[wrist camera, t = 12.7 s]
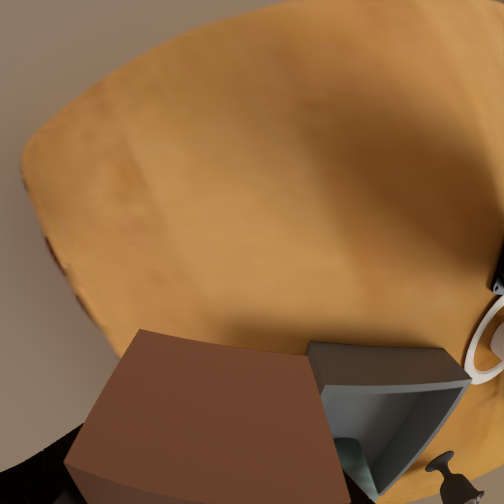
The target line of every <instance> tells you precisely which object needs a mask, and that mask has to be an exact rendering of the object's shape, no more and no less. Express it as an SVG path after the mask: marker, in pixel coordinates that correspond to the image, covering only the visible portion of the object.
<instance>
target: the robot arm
mask: <svg viewBox="0 0 504 504" xmlns="http://www.w3.org/2000/svg"><path fill="white" fill-rule="evenodd" d="M491 291H492V292H493V293H495V294H500V295H504V245H503V249H502V253H501V256H500V260H499V263H498V267H497V270H496V273H495V276H494V280H493V283H492V286H491ZM83 424H84V423H83ZM83 424H81V425H80V426H78V427H77V428H75V429H74V430H72V431H71V432H69V433H68V434H66V435H65V436H63V437H62V438H60V439H59V440H57V441H56V442H54V443H53V444H51V445H50V446H48V447H47V448H45V449H43V451H40V452H39V453H37V454H36V455H34V456H32V457H31V458H29V459H27V460H25V461H24V462H22V463H20V464H18V465H16V466H14V467H12V468H9V469H7V470H5V471H2V472H0V504H88V503H87V502H86V500H85V499H84V497H83V495H82V494H81V492H80V491H79V489H78V487H77V486H76V484H75V482H74V480H73V479H72V477H71V475H70V473H69V472H68V470H67V468H66V466H65V464H64V460H65V458H66V456H67V454H68V452H69V450H70V448H71V447H72V445H73V443H74V441H75V439H76V437H77V435H78V433H79V431H80V430H81V428H82V426H83ZM341 468H342V467H341ZM342 471H343V475H344V478H345V482H346V485H347V489H348V492H349V496H350V499H351V503H350V504H375V503H374V501H373V500H372V499H369V496H368V495H367V494H366V493H365V492H364V491H363V490H362V489H361V488H360V487H359V486H358V485H357V484H356V483H355V482H354V480H353V479H352V478H351V477H350V476H349V475H348V474H347V473H346V472H345V471H344V470H343V468H342Z"/></svg>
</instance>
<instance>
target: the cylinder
mask: <svg viewBox="0 0 504 504" xmlns="http://www.w3.org/2000/svg"><path fill="white" fill-rule="evenodd" d="M334 444H335V447H336V451H337V454H338V457H339V461H340V464H341V467H342V468H343V470H344V471H345V472H346V473H347V474H348V475H349V476H350V477H351V478H352V479H353V480H354V482H355V483H356V484H357V485H358V486H359V487H360V488H361V489H362V490H363V491H364V492H365V493H366V494H367V495H368V496H369V499H372V500H373V501H374V503H375V502H376V501H377V499H378V494H377V491H376V488H375V485H374V482H373V479H372V476H371V474H370V471H369V468H368V465H367V462H366V460H365V457H364V454H363V451H362V449H361V446H360V443H359V442H358V441H357V440H356V439H354V438H338V439H334Z"/></svg>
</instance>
